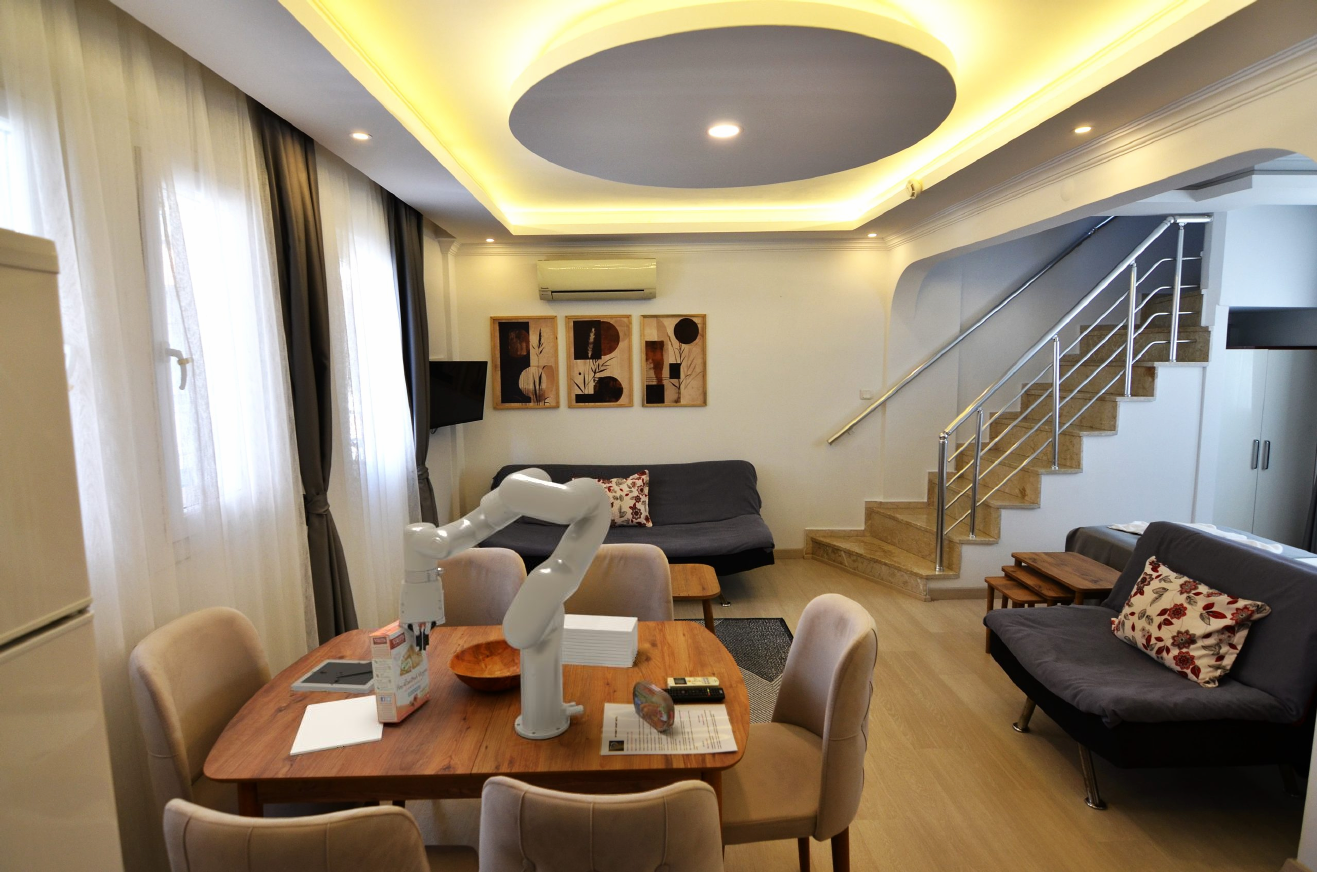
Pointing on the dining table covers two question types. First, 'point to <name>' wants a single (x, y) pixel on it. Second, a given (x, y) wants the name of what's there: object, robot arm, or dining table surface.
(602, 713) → the dining table surface
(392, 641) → the cracker box
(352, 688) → the picture frame
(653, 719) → the tin
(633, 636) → the stack of papers
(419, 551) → the robot arm
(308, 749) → the white flat panel
